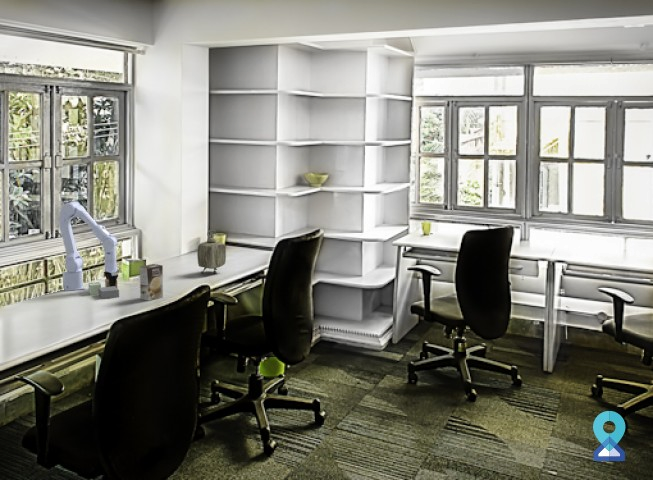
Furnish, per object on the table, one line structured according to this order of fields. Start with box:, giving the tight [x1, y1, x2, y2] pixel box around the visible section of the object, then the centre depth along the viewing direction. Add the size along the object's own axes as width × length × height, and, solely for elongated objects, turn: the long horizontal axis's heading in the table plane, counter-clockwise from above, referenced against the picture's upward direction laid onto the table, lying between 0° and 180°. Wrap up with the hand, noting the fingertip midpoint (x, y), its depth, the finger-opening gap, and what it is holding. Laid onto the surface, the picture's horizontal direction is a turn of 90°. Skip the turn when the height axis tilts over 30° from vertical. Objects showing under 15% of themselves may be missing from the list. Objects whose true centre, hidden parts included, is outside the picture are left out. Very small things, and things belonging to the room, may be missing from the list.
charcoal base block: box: [98, 286, 120, 300], centre depth 353 cm, size 8×8×4 cm
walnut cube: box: [104, 278, 119, 289], centre depth 366 cm, size 5×5×5 cm
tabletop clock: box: [196, 229, 227, 275], centre depth 405 cm, size 14×9×25 cm, turn 145°
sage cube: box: [88, 282, 102, 296], centre depth 357 cm, size 5×5×5 cm
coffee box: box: [139, 263, 164, 302], centre depth 350 cm, size 9×6×16 cm
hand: (111, 286), depth 366 cm, fingers closed on walnut cube, 5 cm apart
